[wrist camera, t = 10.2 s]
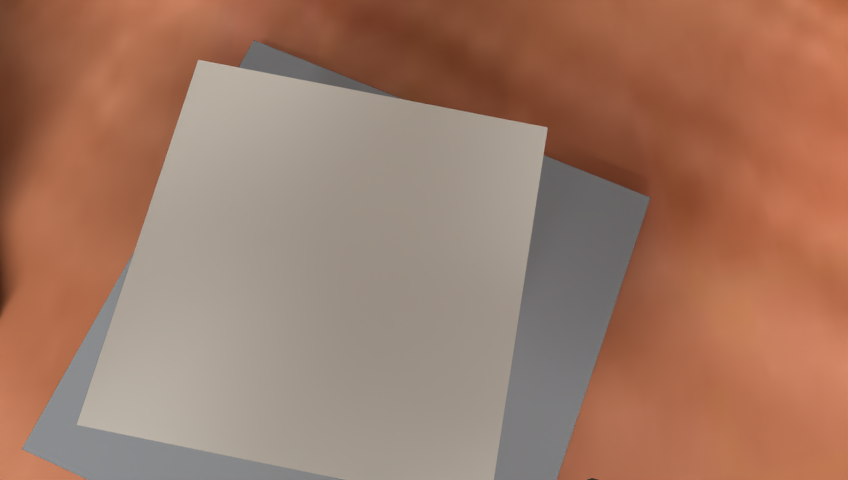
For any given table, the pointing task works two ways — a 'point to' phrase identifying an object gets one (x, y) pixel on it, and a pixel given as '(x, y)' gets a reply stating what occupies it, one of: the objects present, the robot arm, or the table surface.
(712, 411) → the table surface
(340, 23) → the table surface
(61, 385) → the mat
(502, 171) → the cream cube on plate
